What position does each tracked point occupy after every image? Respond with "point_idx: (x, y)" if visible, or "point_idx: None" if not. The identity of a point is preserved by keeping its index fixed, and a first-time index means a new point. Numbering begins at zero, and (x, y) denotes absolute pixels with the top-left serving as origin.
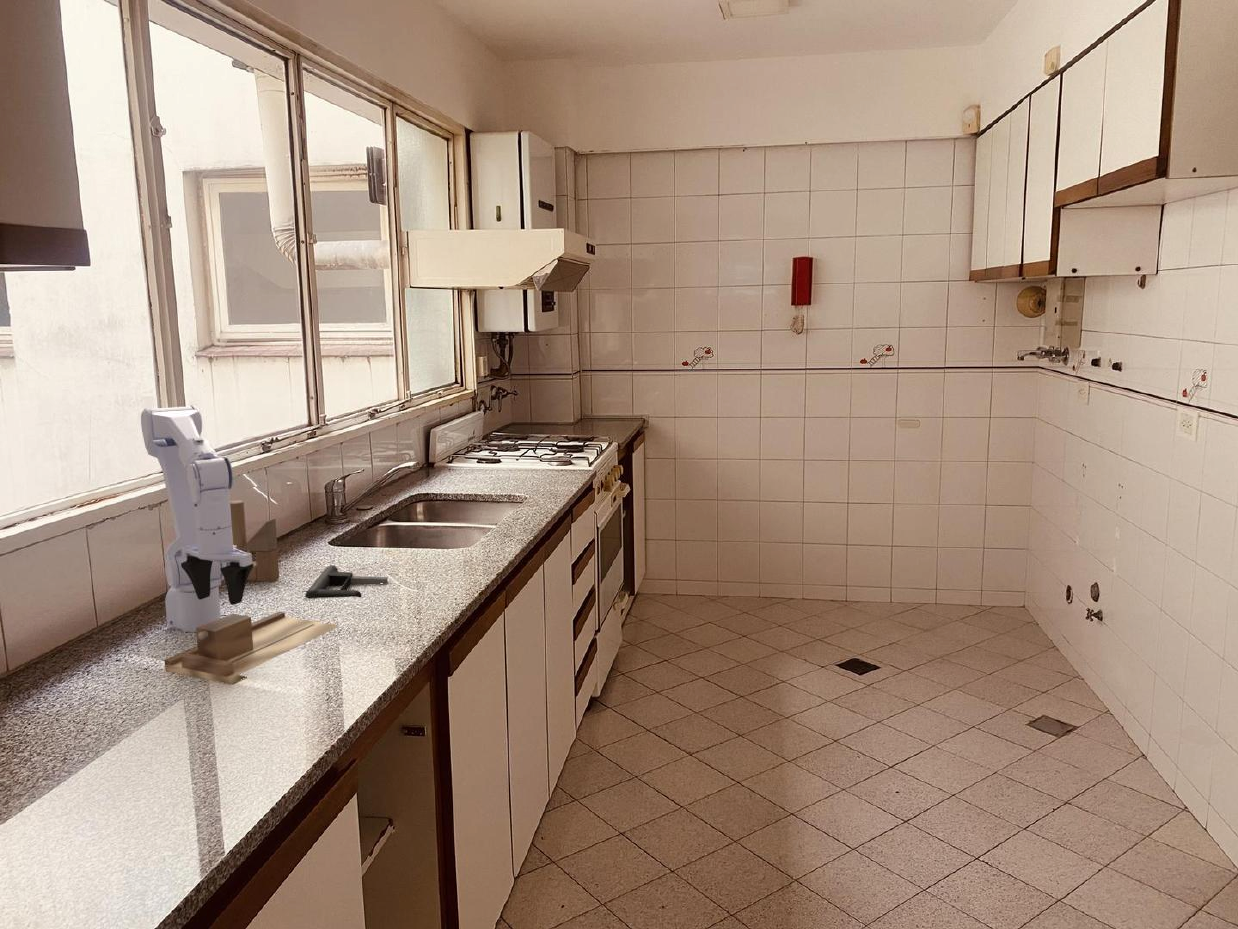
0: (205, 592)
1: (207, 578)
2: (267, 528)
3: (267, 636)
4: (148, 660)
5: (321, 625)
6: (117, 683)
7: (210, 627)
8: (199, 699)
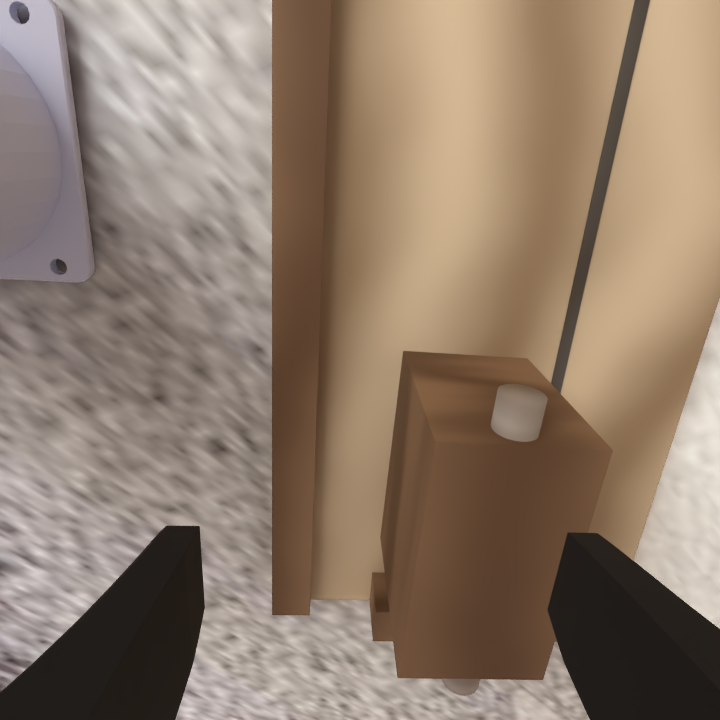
0: (186, 602)
1: (120, 705)
2: None
3: (488, 176)
4: (112, 531)
5: None
6: (214, 685)
7: (475, 650)
8: (568, 675)
